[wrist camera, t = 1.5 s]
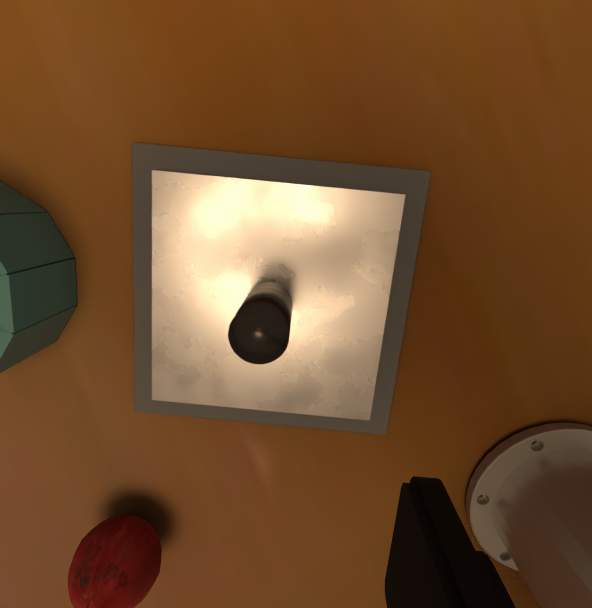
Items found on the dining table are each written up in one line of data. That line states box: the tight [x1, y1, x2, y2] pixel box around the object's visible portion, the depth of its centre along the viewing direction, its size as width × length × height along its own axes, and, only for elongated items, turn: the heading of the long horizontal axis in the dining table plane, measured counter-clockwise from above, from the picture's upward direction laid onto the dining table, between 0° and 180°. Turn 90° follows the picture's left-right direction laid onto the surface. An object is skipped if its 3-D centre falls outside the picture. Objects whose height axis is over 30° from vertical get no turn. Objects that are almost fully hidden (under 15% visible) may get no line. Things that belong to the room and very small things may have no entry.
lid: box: [152, 170, 405, 420], centre depth 23 cm, size 15×15×7 cm
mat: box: [132, 142, 431, 435], centre depth 26 cm, size 18×18×1 cm
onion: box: [68, 515, 161, 608], centre depth 27 cm, size 6×6×8 cm
